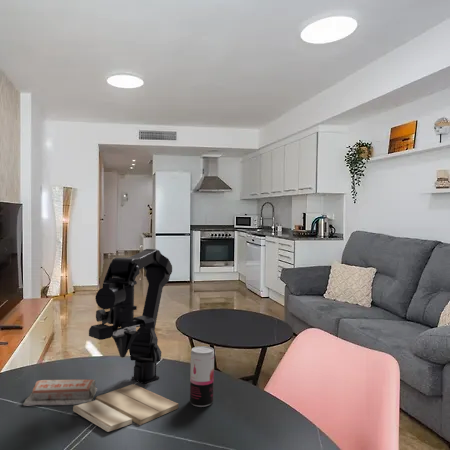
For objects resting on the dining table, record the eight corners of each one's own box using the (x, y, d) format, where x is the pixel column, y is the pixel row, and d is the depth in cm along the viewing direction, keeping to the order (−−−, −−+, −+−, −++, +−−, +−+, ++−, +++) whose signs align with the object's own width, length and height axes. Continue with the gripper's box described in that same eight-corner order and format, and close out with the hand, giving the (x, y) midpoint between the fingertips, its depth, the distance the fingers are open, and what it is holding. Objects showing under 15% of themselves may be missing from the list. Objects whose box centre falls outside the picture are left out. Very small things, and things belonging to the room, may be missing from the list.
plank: (96, 404, 116) (96, 399, 116) (131, 423, 106) (132, 418, 106) (72, 410, 111) (73, 406, 111) (107, 432, 100) (108, 426, 100)
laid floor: (133, 387, 128) (133, 383, 128) (178, 408, 115) (178, 403, 115) (95, 401, 118) (95, 396, 118) (140, 425, 105) (140, 420, 105)
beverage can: (217, 403, 118) (218, 350, 118) (198, 409, 114) (199, 354, 114) (204, 395, 124) (205, 344, 123) (185, 401, 120) (186, 348, 119)
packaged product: (98, 375, 126) (90, 388, 116) (97, 391, 126) (90, 406, 116) (35, 376, 124) (22, 389, 114) (35, 392, 124) (22, 407, 114)
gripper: (133, 294, 132) (132, 344, 132) (78, 302, 118) (77, 358, 118) (156, 299, 125) (155, 352, 125) (100, 308, 111) (99, 368, 111)
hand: (122, 356), depth 120 cm, fingers closed
